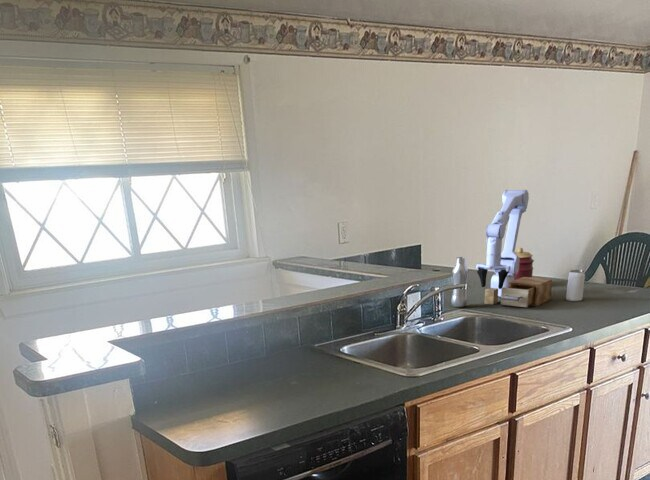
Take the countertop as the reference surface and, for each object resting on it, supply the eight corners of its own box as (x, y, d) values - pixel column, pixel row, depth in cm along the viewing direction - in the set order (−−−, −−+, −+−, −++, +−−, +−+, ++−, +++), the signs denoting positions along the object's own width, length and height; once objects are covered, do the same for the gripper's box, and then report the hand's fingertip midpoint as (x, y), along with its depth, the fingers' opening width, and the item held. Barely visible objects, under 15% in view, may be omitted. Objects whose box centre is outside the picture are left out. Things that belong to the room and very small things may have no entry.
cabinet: (536, 306, 267) (538, 284, 264) (507, 302, 275) (508, 282, 271) (550, 299, 277) (552, 279, 274) (522, 296, 285) (523, 276, 282)
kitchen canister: (502, 288, 303) (505, 249, 296) (503, 283, 314) (506, 245, 307) (531, 289, 299) (535, 249, 292) (532, 284, 310) (535, 245, 303)
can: (579, 298, 277) (583, 269, 273) (584, 301, 271) (587, 272, 267) (564, 298, 278) (567, 270, 273) (567, 301, 272) (571, 272, 267)
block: (484, 303, 275) (485, 289, 273) (488, 301, 278) (489, 287, 276) (493, 304, 273) (494, 290, 271) (497, 302, 276) (498, 288, 273)
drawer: (522, 309, 259) (523, 292, 256) (495, 306, 265) (496, 289, 263) (540, 301, 271) (542, 284, 269) (514, 298, 278) (516, 282, 275)
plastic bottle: (468, 305, 273) (470, 256, 265) (464, 309, 267) (466, 259, 259) (453, 304, 275) (455, 256, 268) (449, 308, 270) (450, 258, 262)
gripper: (473, 254, 269) (471, 287, 275) (506, 256, 261) (503, 290, 266) (481, 252, 274) (479, 284, 280) (513, 254, 266) (511, 287, 271)
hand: (491, 287), depth 273 cm, fingers open, 7 cm apart
